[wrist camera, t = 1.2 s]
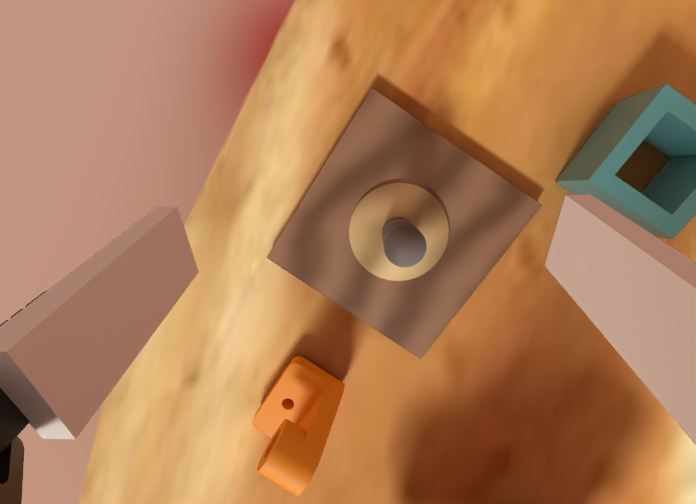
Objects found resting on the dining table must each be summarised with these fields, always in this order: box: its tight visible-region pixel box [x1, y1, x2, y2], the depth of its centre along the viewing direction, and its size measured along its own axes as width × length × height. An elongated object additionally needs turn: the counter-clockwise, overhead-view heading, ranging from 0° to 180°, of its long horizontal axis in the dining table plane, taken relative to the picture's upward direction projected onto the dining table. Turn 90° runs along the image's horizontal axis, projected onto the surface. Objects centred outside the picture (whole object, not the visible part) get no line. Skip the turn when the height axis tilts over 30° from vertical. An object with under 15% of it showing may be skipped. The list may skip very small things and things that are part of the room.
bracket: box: [252, 356, 344, 495], centre depth 39 cm, size 11×7×12 cm, turn 147°
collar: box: [555, 84, 696, 239], centre depth 34 cm, size 10×10×6 cm
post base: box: [267, 88, 542, 359], centre depth 34 cm, size 22×22×11 cm
